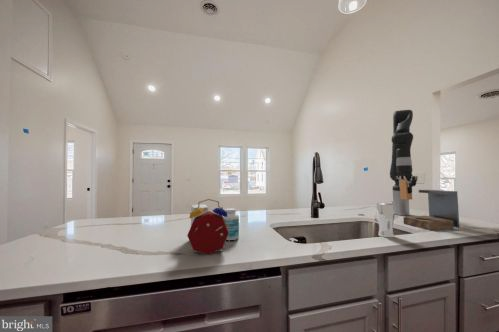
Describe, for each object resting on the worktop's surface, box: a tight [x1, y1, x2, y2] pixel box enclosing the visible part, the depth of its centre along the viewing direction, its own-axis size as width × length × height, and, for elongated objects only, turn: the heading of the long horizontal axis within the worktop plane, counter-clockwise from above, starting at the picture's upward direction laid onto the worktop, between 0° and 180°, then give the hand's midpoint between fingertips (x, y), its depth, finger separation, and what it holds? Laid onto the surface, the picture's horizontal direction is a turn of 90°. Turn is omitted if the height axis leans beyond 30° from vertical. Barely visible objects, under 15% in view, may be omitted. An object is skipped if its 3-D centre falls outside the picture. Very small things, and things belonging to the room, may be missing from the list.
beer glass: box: [376, 202, 395, 239], centre depth 94 cm, size 7×7×15 cm
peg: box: [399, 179, 413, 201], centre depth 121 cm, size 4×4×12 cm
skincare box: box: [190, 203, 209, 226], centre depth 88 cm, size 8×7×16 cm
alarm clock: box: [187, 198, 229, 255], centre depth 74 cm, size 15×9×20 cm, turn 98°
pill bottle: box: [223, 207, 240, 242], centre depth 91 cm, size 8×7×14 cm
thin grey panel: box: [418, 189, 460, 229], centre depth 113 cm, size 14×8×20 cm, turn 12°
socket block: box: [403, 215, 455, 231], centre depth 111 cm, size 14×16×4 cm
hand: (406, 192), depth 121 cm, fingers closed on peg, 4 cm apart
